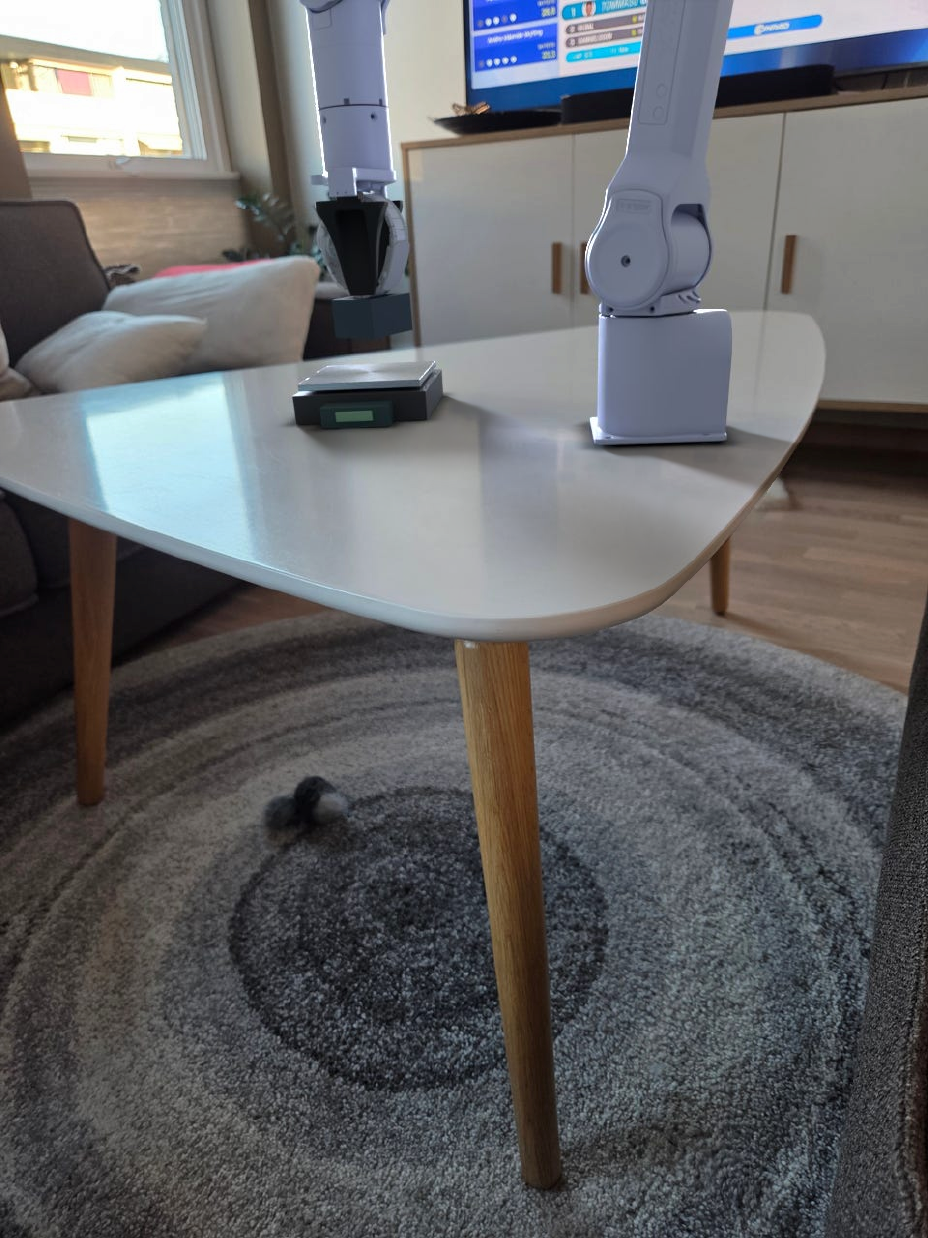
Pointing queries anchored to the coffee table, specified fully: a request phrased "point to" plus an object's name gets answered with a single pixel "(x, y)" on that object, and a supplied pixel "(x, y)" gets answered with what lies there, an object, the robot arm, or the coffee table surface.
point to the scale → (368, 405)
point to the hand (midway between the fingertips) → (370, 292)
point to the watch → (381, 309)
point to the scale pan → (369, 376)
